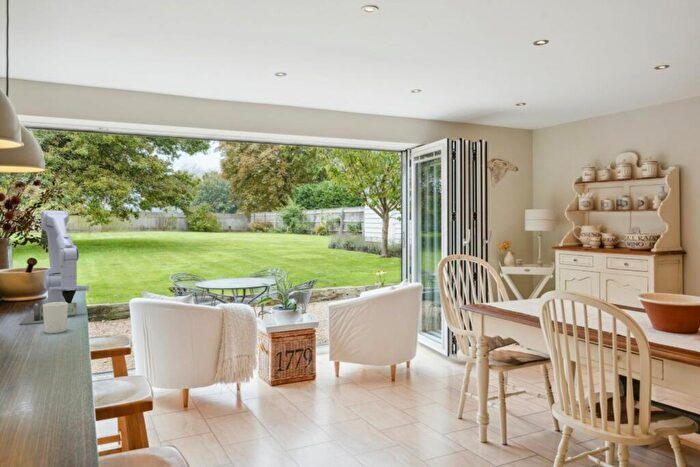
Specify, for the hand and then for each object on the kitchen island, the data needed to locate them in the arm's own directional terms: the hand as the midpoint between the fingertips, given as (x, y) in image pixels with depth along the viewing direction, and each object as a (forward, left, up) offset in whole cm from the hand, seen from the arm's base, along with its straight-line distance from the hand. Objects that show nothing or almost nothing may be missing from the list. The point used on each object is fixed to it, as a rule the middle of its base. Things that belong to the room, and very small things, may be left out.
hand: (69, 308), depth 210 cm
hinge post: (+9, -10, -3) cm, 14 cm away
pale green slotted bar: (+5, -3, -2) cm, 6 cm away
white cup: (+30, -1, -3) cm, 30 cm away
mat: (+3, -8, -3) cm, 9 cm away
